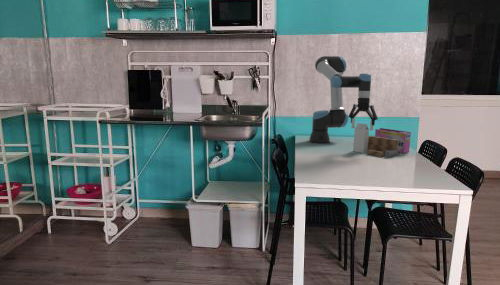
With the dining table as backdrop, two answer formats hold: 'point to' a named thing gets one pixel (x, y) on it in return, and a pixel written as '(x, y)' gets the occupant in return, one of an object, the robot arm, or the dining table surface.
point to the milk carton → (361, 138)
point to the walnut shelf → (381, 145)
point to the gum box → (396, 138)
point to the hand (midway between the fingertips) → (362, 129)
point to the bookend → (390, 153)
